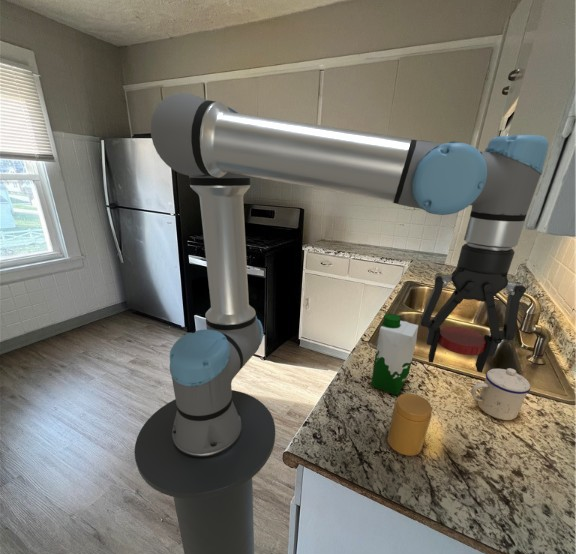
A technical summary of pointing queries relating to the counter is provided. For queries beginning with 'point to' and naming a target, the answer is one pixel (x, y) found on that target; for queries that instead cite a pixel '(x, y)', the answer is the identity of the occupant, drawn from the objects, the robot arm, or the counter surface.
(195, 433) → the robot arm
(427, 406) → the jam jar
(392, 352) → the milk carton
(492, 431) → the counter surface
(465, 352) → the jam lid
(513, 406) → the teacup with lid
